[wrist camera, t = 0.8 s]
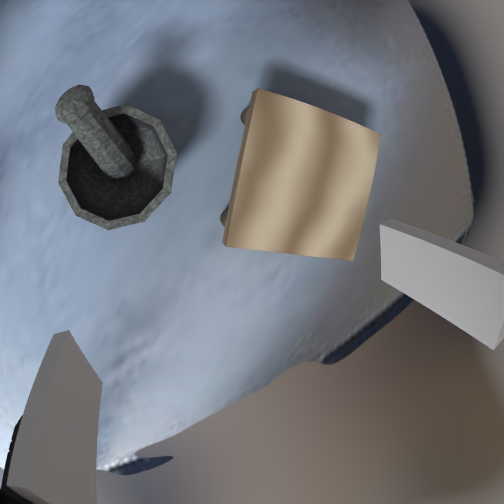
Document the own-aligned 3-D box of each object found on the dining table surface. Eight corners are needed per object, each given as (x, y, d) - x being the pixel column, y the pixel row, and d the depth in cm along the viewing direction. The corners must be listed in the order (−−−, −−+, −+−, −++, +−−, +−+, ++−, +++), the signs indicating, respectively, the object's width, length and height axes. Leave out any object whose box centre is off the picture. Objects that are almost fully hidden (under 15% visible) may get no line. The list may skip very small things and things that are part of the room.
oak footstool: (213, 230, 30) (226, 246, 25) (239, 101, 27) (257, 88, 21) (324, 245, 35) (352, 260, 30) (348, 135, 32) (381, 134, 26)
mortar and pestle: (188, 185, 28) (206, 200, 17) (110, 231, 27) (82, 275, 16) (141, 90, 23) (130, 46, 13) (62, 138, 22) (6, 128, 11)
